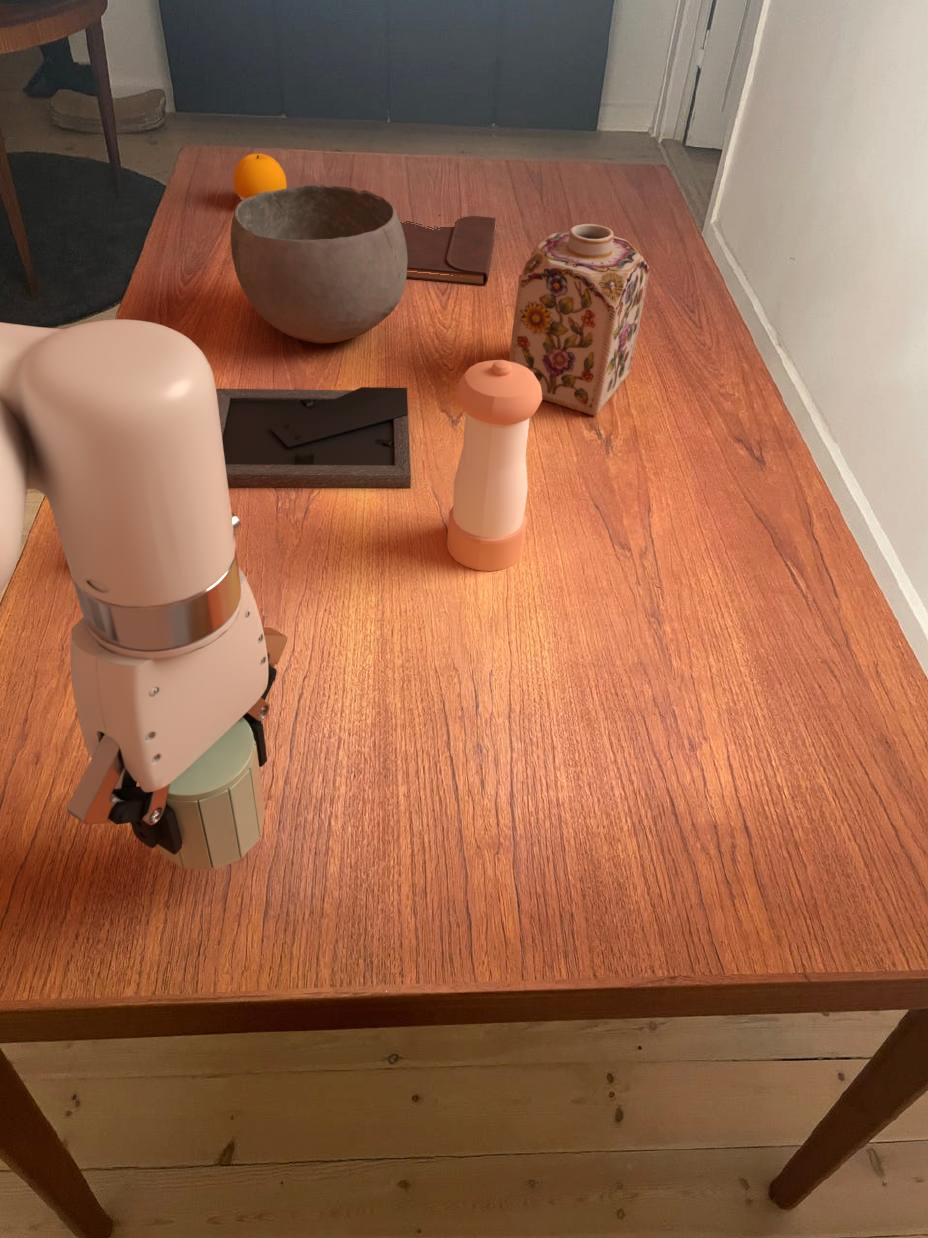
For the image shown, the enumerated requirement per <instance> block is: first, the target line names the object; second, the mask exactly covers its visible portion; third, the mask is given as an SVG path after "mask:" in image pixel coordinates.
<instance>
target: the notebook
mask: <svg viewBox="0 0 928 1238" xmlns="http://www.w3.org/2000/svg"><path fill="white" fill-rule="evenodd" d="M462 217H463V218H460V219H458V220H457V221H456V222H455V226H454V227H440V228H438V227H436V228H437V229H435V228H432V227H429V226H427V227H429V228H432V229H434V230H432V229H429V228H426V227H422V226H419V225H422V224H419V225H415V224H411V223H414V222H410V221H406V222H404V223H402V222H400V223H401V226H402V229H403V232H404V237H405V241H406V248H407V260H408V262H407V271H417V272H407V276H406V280H407V279H408V280H420V281H429V282H441V283H453V284H462V285H463V284H464V285H474V286H486V285H487V283H488V281H489V275H490V269H489V268H491V262H492V256H493V250H494V249H493V250H492V246H493V247H494V244H493V237H494V231H495V230H494V229H495V221H496V222H497V219H496V218H495V217H491V216H479V215H470V216H469V215H468V216H462ZM407 222H409V223H407ZM405 223H406V224H405ZM416 224H418V223H416ZM415 226H416V227H415ZM434 227H435V226H434ZM496 227H498V226H497V225H496ZM425 228H426V229H425ZM441 228H442V229H441ZM438 229H440V230H438ZM496 232H497V230H496V231H495V233H496ZM491 255H492V256H491ZM418 272H431V273H439V274H429V273H418ZM440 274H449V275H440ZM451 275H453V276H451ZM461 276H462V277H461Z"/></svg>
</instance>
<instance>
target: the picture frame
mask: <svg viewBox="0 0 928 1238" xmlns="http://www.w3.org/2000/svg"><path fill="white" fill-rule="evenodd" d="M216 392H217V400H218V408H219V417H220V425H221V433H222V441H223V450H224V458H225V466H226V474H227V483H228V488H278V489H279V488H287V489H288V488H290V489H291V488H294V489H296V488H297V489H300V488H302V489H305V488H306V489H307V488H309V489H313V488H314V489H315V488H316V489H318V488H321V489H323V488H324V489H329V488H330V489H347V488H348V489H412V488H411V487H412V470H411V469H412V468H411V448H410V447H411V446H410V427H409V404H408V387H387V386H385V387H384V386H383V387H381V386H380V387H379V386H361V387H359V388H357V389H353V390H351V389H290V388H289V389H285V388H284V389H283V388H279V389H276V388H275V389H274V388H216Z"/></svg>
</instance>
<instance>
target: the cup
mask: <svg viewBox="0 0 928 1238" xmlns="http://www.w3.org/2000/svg"><path fill="white" fill-rule="evenodd" d="M262 785H263V784H262V779H261V770H260V767H259V762H258V754H257V747H256V742H255V740H254V737H253V732H252V730H251V727H250V725H249V724H248V722H247V721H246V720H245V719H244V717H241V718H240V719H239V720H238V721H237V722H236V723H235V724H234V725H233V726H232V727H231V728H230V729H229V730H228V731H227V732H226V733H225V734H224V735H223V736H222V737H221V738H219V739H218V740H217V741H216V742H215V743H214V744H213V745H212V746H211V747H210V748H209V749H208V750H207V751H206V752H205V753H204V754H202V755H201V756H200V757H199V758H198V759H197V760H196V761H195V762H194V763H193V764H192V765H191V766H190V767H188V768H187V769H186V770H185V771H184V772H183V773H182V774H181V775H180V776H178V777H177V778H176V779H175V780H174V781H173V782H171V784H170V788H169V792H168V797H167V801H166V805H168V806H169V807H171V808H172V809H173V810H174V812H175V815H176V819H177V823H178V827H179V830H180V834H181V838H182V842H183V844H182V848H181V849H180V850H179V851H178V852H177V853H176V854H175V855H174V854H172V853H170V852H169V851H167V850H166V849H164V848H163V847H161V846H160V845H158V844H157V847H158V851H159V853H160V854H161V855H162V856H163V857H164V858H166V859H167V860H169V861H171V862H172V863H173V864H175V865H176V866H178V867H179V868H181V869H184V870H194V871H195V870H196V871H212V870H213V871H215V870H218V869H221V868H222V867H225V866H228V865H230V864H233V863H236V862H238V861H241V859H243V858H244V857H245V856H246V855H247V854H248V852H249V851H250V850H252V848H253V847H254V846H255V845H256V844H257V843H258V842H259V841H260V838H261V837H262V834H263V829H264V823H265V820H266V810H265V809H266V808H265V802H264V801H265V800H264V792H263V786H262Z"/></svg>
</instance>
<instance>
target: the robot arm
mask: <svg viewBox="0 0 928 1238" xmlns="http://www.w3.org/2000/svg"><path fill="white" fill-rule="evenodd" d="M216 389H217V387H216V383H215V377H214V372H213V370H212V367H211V365H210V363H209V360H208V359H207V357H206V355H205V354H204V352H203V351H202V350H201V349H200V347H199V346H197V345H196V343H195V342H193V341H192V340H191V339H190V338H189V337H187V336H186V335H184V334H183V333H181V332H179V331H177V330H175V329H174V328H170V327H168V326H165V325H163V324H160V323H157V322H151V321H146V320H141V319H140V320H139V319H130V318H129V319H126V318H125V319H123V318H121V319H118V318H117V319H115V318H113V319H102V320H101V319H100V320H94V321H88V322H84V323H80V324H76V325H72V326H69V327H66V328H57V327H41V326H33V325H23V324H18V323H17V324H16V323H9V322H1V321H0V594H1V593H2V592H3V590H4V588H5V587H6V586H7V584H8V583H9V581H10V580H11V578H12V577H13V574H14V571H15V569H16V567H17V565H18V561H19V558H20V554H21V549H22V543H23V533H24V528H25V527H24V526H25V517H26V516H25V515H26V509H27V508H26V506H27V498H28V497H27V495H28V490H35V491H38V492H40V493H41V494H43V496H45V497H46V499H47V501H48V503H49V506H50V509H51V512H52V516H53V518H54V522H55V526H56V529H57V533H58V536H59V539H60V543H61V546H62V550H63V552H64V557H65V559H66V562H67V566H68V570H69V572H70V573H69V574H70V577H71V580H72V584H73V588H74V590H75V594H76V597H77V601H78V603H79V608H80V611H81V614H82V617H81V618H80V619H79V621H78V622H77V623H75V625H73V627H72V628H71V632H70V647H69V649H70V650H69V651H70V652H69V653H70V654H69V658H70V660H69V661H70V677H71V685H72V691H73V697H74V703H75V708H76V714H77V718H78V723H79V727H80V731H81V734H82V735H81V736H82V738H83V742H84V746H85V748H86V751H87V754H88V755H89V757H90V758H91V759H90V761H89V763H88V765H87V767H86V769H85V771H84V773H83V775H82V777H81V779H80V781H79V783H78V785H77V787H76V789H75V790H74V792H73V795H72V797H71V799H70V801H69V802H68V804H67V808H66V811H67V813H68V814H70V816H72V817H74V818H75V819H77V820H79V822H81V823H83V824H84V825H89V826H90V825H103V824H107V823H111V822H113V824H115V825H125V824H130V826H131V828H132V832H133V834H134V836H135V838H136V839H138V841H140V842H141V843H142V844H144V845H145V846H147V847H148V848H150V849H154V848H155V847H156V846H158V845H160V846H161V847H163V848H164V849H166V850H167V851H169V852H170V853H172V854H174V855H175V854H176V853H177V852H178V851H179V850H180V849H181V848H182V844H183V842H182V838H181V834H180V830H179V827H178V823H177V819H176V815H175V812H174V810H173V809H172V808H171V807H169V806H168V805H166V801H167V797H168V792H169V788H170V784H171V782H173V781H174V780H175V779H176V778H177V777H178V776H180V775H181V774H182V773H183V772H184V771H185V770H186V769H187V768H188V767H190V766H191V765H192V764H193V763H194V762H195V761H196V760H197V759H198V758H199V757H200V756H201V755H202V754H204V753H205V752H206V751H207V750H208V749H209V748H210V747H211V746H212V745H213V744H214V743H215V742H216V741H217V740H218V739H219V738H221V737H222V736H223V735H224V734H225V733H226V732H227V731H228V730H229V729H230V728H231V727H232V726H233V725H234V724H235V723H236V722H237V721H238V720H239V719H240V718H241V717H244V719H245V720H246V721H247V722H248V724H249V725H250V727H251V730H252V732H253V737H254V740H255V742H256V747H257V754H258V762H259V768H262V767H263V766H264V765H265V764H266V763H267V762H268V755H267V748H266V747H267V746H266V739H265V738H266V737H265V729H264V724H263V722H262V721H263V720H264V719H265V718H266V717H267V716H268V714H269V711H270V707H271V706H270V704H269V702H267V701H266V699H267V697H268V695H269V692H270V691H271V688H272V686H273V684H274V682H275V681H276V679H277V674H278V672H277V671H278V670H277V668H275V667H276V665H279V662H280V659H281V657H282V656H283V652H284V650H285V647H286V645H287V642H288V636H287V635H286V634H283V633H282V632H279V631H278V630H275V629H274V628H272V627H268V626H267V627H266V626H263V623H262V618H261V616H260V615H261V614H260V611H259V609H258V605H257V602H256V599H255V596H254V594H253V591H252V589H251V587H250V584H249V583H248V580H247V578H246V575H245V574H244V572H243V570H242V569H241V568H240V567H239V563H238V554H237V545H236V535H237V534H239V533H240V532H241V531H242V523H241V521H240V519H239V518H238V516H237V515H236V514H235V513H233V512H232V505H231V499H230V498H231V497H230V490H229V487H228V483H227V474H226V466H225V458H224V450H223V441H222V433H221V425H220V417H219V408H218V400H217V392H216ZM137 785H139V786H137Z"/></svg>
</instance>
